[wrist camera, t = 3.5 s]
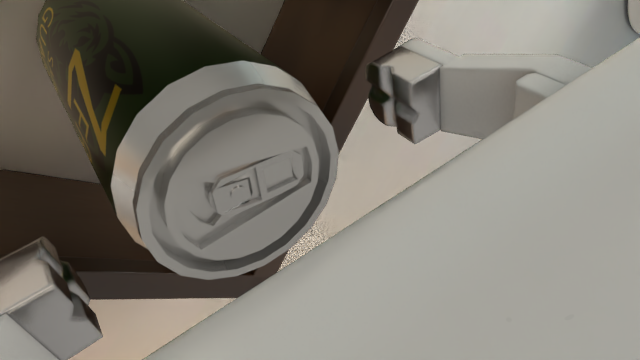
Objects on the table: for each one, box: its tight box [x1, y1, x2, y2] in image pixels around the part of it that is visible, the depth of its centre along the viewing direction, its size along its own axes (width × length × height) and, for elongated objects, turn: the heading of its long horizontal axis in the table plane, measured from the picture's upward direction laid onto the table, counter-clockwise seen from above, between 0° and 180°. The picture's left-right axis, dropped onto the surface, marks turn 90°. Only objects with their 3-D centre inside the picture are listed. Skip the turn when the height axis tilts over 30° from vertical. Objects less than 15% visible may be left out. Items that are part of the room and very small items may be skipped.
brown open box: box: [0, 0, 419, 299], centre depth 17 cm, size 15×15×7 cm
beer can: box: [36, 0, 339, 280], centre depth 15 cm, size 5×5×12 cm
